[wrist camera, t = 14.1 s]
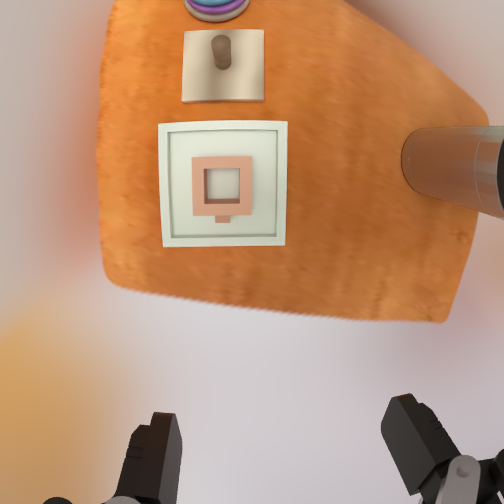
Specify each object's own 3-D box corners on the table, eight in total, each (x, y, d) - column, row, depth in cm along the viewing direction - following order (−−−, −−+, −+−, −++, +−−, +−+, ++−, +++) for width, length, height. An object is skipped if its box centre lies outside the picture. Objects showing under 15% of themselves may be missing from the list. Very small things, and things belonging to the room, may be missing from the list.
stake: (262, 34, 29) (270, 5, 21) (262, 101, 32) (270, 86, 24) (186, 36, 28) (175, 7, 21) (183, 103, 31) (169, 89, 24)
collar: (249, 156, 33) (252, 156, 29) (249, 217, 35) (251, 224, 31) (196, 157, 33) (191, 157, 29) (197, 217, 35) (193, 225, 31)
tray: (284, 123, 33) (287, 121, 31) (282, 240, 37) (284, 245, 35) (162, 125, 32) (158, 123, 30) (166, 242, 36) (163, 247, 34)
